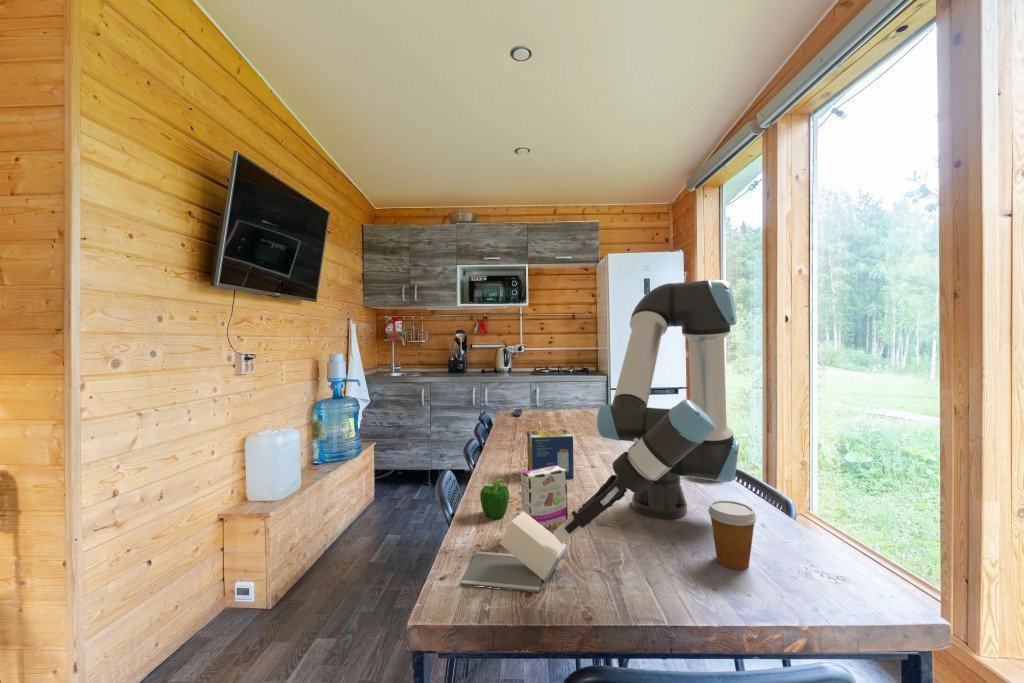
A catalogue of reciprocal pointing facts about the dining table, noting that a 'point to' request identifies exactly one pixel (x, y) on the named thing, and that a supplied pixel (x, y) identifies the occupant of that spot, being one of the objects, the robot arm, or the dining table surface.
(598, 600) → the dining table surface
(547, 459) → the protein box
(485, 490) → the bell pepper
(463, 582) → the gray plastic tray
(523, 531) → the cream block
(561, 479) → the candy bar box
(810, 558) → the dining table surface
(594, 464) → the dining table surface
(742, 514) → the disposable coffee cup
